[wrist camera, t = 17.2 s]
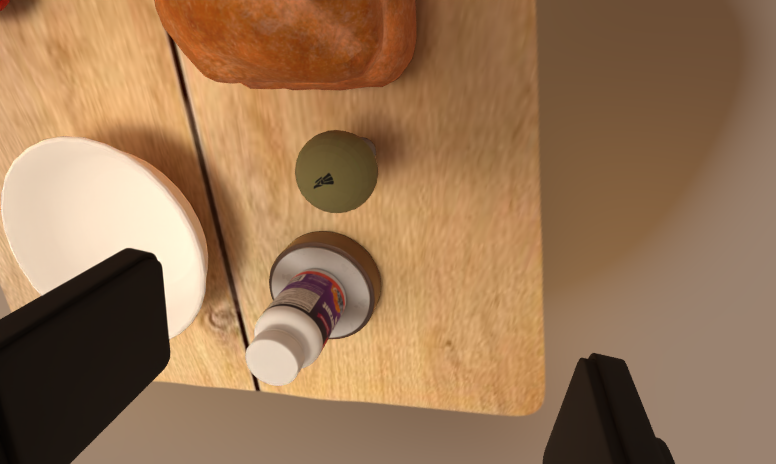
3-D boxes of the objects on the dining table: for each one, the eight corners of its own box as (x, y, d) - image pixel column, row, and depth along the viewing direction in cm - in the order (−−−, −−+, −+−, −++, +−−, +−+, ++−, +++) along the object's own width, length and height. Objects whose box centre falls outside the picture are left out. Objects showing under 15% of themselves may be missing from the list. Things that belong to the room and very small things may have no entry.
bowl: (25, 174, 46) (-41, 194, 41) (161, 84, 39) (104, 92, 34) (140, 331, 51) (96, 368, 46) (279, 276, 44) (247, 311, 39)
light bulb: (358, 100, 36) (313, 120, 27) (411, 147, 37) (383, 183, 28) (318, 151, 39) (265, 185, 30) (368, 195, 39) (330, 241, 30)
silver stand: (281, 221, 42) (268, 233, 40) (387, 243, 41) (380, 256, 38) (279, 311, 46) (266, 327, 44) (374, 334, 45) (367, 352, 42)
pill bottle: (345, 325, 42) (306, 401, 33) (290, 312, 42) (236, 384, 34) (350, 273, 39) (308, 340, 31) (291, 261, 40) (234, 323, 31)
